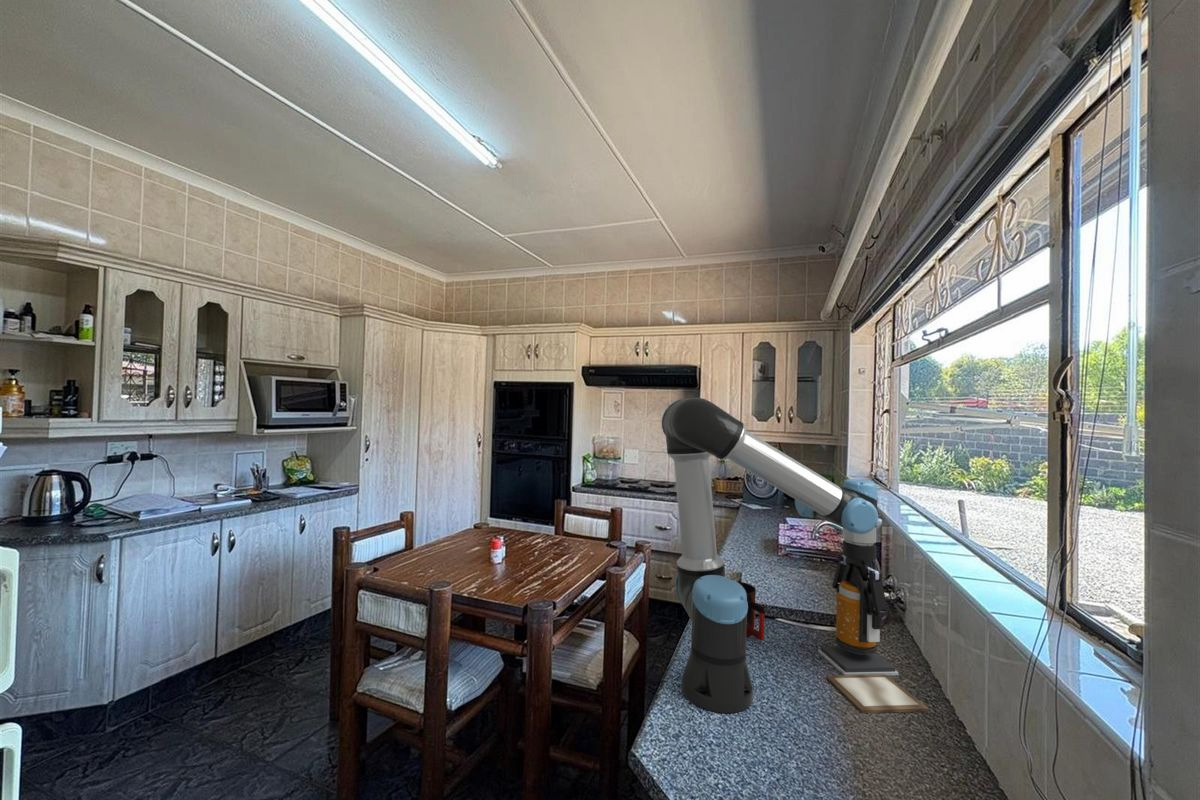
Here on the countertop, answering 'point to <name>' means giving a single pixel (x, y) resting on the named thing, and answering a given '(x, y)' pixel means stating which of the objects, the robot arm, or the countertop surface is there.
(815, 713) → the countertop surface
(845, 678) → the box board
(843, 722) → the countertop surface
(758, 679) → the countertop surface
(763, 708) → the countertop surface
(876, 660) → the ink pad
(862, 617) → the canister
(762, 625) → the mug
